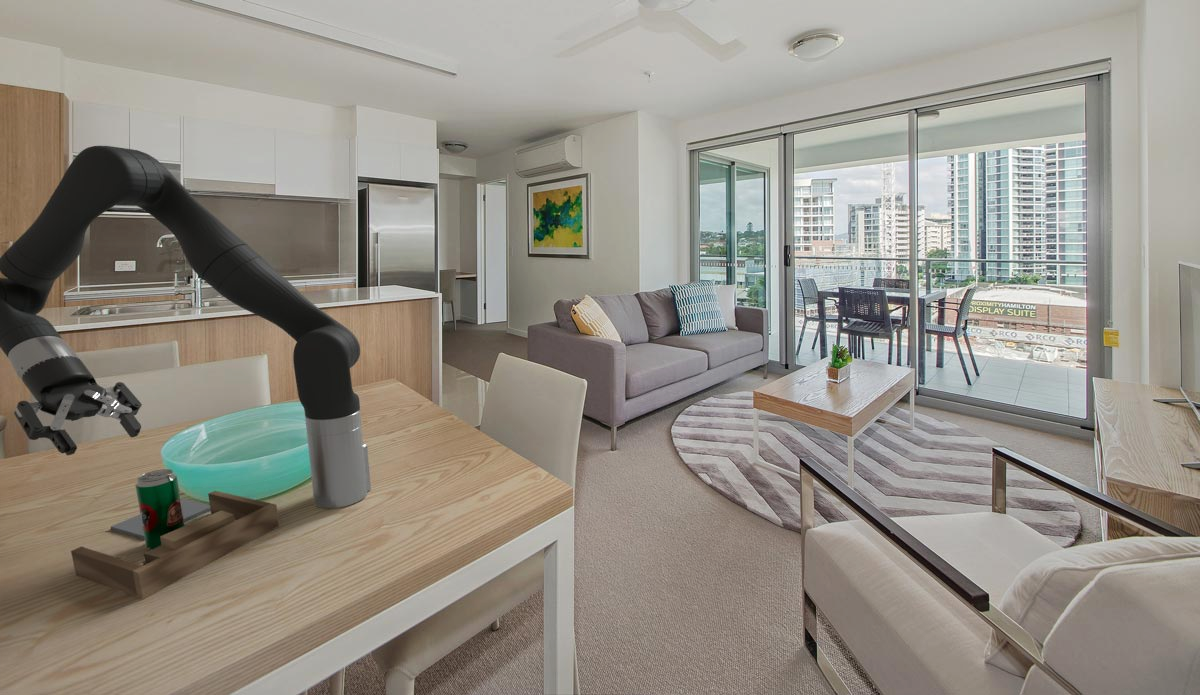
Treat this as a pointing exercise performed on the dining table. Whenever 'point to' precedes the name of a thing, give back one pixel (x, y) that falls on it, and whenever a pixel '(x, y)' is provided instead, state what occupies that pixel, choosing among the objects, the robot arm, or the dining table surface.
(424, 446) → the dining table surface
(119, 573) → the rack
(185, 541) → the offcut stack
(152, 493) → the soda can
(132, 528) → the mat
